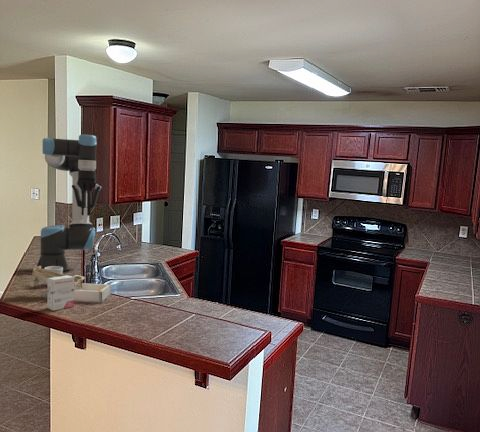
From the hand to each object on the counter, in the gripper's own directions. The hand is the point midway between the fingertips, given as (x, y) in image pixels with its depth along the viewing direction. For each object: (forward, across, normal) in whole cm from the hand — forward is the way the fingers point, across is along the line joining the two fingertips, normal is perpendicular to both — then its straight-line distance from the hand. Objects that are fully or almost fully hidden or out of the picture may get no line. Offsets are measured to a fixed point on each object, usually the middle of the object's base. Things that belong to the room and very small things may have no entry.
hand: (86, 222), depth 201 cm
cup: (+30, -15, -1) cm, 33 cm away
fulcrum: (+29, -7, -17) cm, 35 cm away
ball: (+27, +12, -17) cm, 34 cm away
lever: (+27, -8, -13) cm, 31 cm away
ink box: (+30, +2, -32) cm, 44 cm away
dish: (+29, +9, -18) cm, 35 cm away
